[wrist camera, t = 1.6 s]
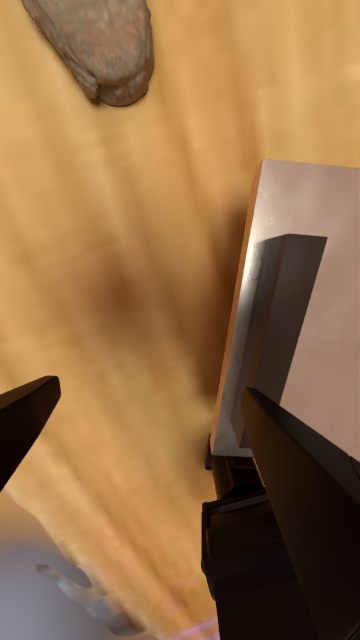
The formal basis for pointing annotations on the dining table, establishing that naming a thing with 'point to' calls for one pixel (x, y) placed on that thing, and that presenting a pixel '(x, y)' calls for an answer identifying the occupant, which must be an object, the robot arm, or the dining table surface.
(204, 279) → the dining table surface
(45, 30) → the elongated rock
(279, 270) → the lid
